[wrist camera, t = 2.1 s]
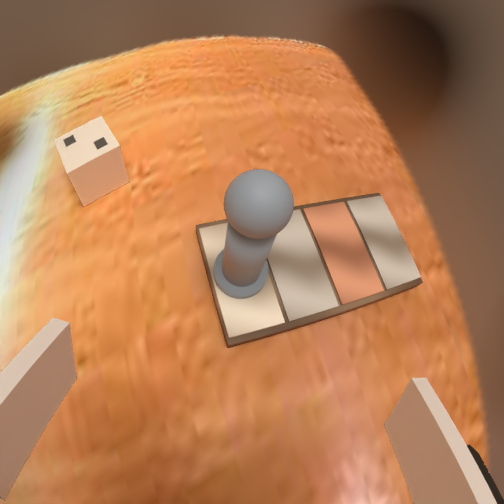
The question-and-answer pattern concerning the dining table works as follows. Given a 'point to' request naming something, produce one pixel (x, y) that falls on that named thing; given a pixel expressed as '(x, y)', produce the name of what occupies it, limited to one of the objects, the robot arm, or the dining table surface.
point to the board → (316, 267)
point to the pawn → (251, 230)
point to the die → (92, 160)
